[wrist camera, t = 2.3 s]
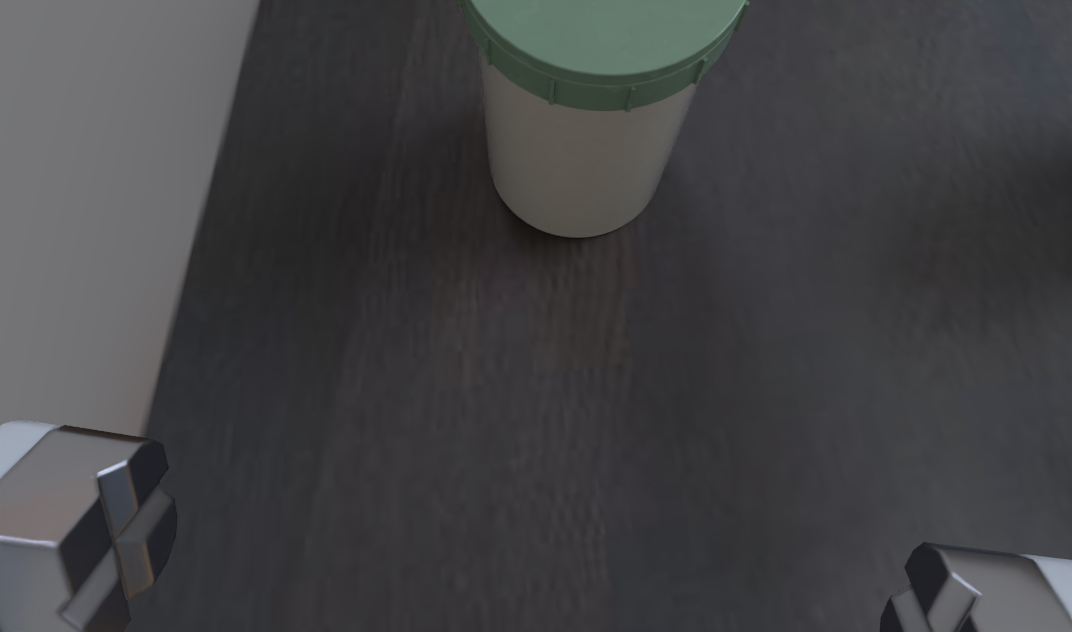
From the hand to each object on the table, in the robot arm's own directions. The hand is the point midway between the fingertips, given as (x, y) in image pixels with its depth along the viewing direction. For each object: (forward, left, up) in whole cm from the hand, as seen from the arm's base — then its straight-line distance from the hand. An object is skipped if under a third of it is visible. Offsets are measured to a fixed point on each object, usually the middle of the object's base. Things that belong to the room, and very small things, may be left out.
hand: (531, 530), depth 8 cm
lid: (0, +12, -6) cm, 13 cm away
